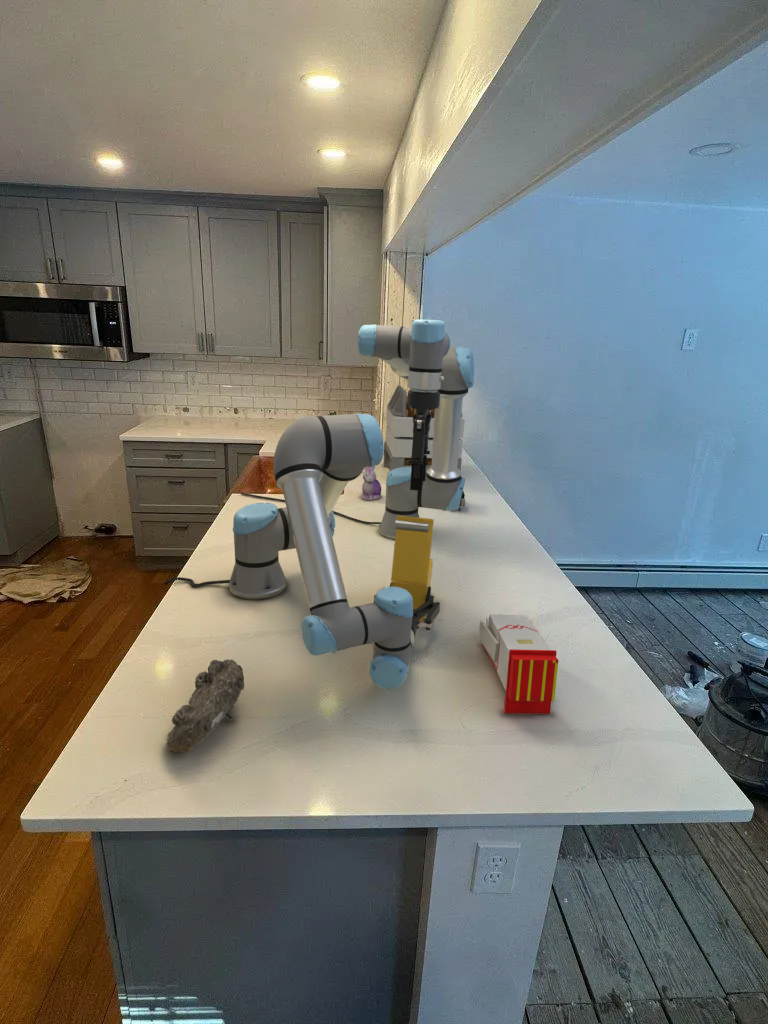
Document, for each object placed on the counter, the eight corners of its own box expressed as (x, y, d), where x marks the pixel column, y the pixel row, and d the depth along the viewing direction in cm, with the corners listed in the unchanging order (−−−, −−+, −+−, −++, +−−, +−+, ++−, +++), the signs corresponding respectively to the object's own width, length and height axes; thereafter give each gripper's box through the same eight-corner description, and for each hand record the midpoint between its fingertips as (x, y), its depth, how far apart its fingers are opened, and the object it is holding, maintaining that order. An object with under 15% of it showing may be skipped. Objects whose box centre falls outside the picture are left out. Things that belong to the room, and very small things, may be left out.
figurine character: (465, 515, 224) (460, 499, 237) (467, 498, 221) (462, 483, 234) (448, 515, 224) (444, 499, 237) (450, 498, 220) (445, 482, 234)
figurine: (366, 502, 230) (367, 466, 225) (355, 494, 239) (356, 460, 234) (386, 499, 235) (388, 464, 229) (375, 492, 243) (377, 458, 238)
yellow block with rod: (397, 515, 142) (393, 515, 133) (433, 519, 140) (431, 519, 131) (391, 579, 142) (386, 584, 133) (427, 583, 141) (424, 588, 132)
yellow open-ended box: (398, 588, 160) (400, 555, 156) (430, 592, 159) (432, 558, 155) (389, 617, 145) (391, 582, 142) (424, 622, 144) (427, 586, 140)
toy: (524, 600, 137) (567, 656, 108) (520, 651, 140) (560, 720, 111) (474, 599, 137) (504, 655, 107) (471, 650, 140) (498, 719, 110)
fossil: (192, 660, 117) (244, 628, 112) (224, 691, 120) (276, 661, 115) (142, 746, 98) (202, 712, 93) (182, 779, 101) (242, 748, 96)
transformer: (382, 463, 289) (386, 382, 275) (445, 464, 293) (451, 384, 279) (390, 482, 257) (394, 392, 243) (460, 483, 261) (468, 394, 247)
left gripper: (349, 643, 128) (368, 597, 149) (445, 656, 125) (451, 607, 146) (350, 614, 126) (369, 571, 147) (448, 626, 123) (453, 581, 144)
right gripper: (436, 397, 121) (429, 499, 128) (443, 385, 140) (436, 475, 147) (401, 395, 122) (396, 496, 129) (413, 383, 141) (407, 472, 148)
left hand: (410, 589), depth 147 cm, fingers closed on yellow open-ended box, 9 cm apart
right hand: (417, 484), depth 138 cm, fingers open, 7 cm apart
